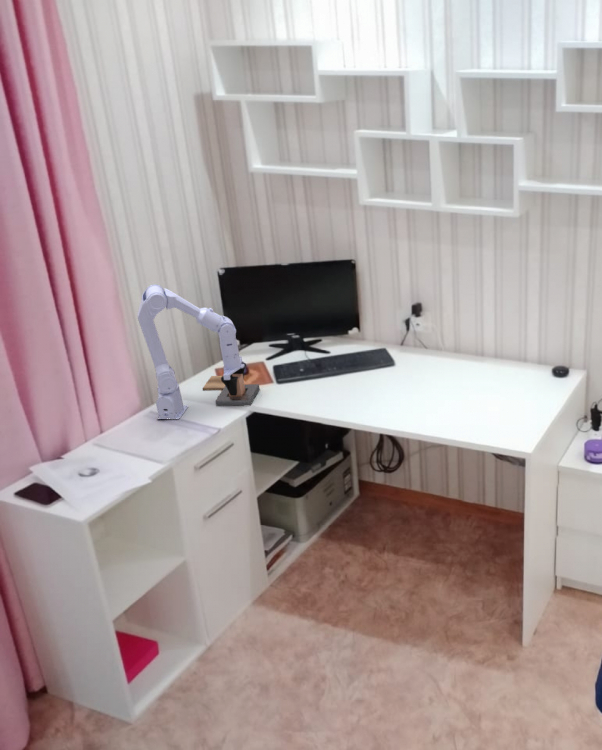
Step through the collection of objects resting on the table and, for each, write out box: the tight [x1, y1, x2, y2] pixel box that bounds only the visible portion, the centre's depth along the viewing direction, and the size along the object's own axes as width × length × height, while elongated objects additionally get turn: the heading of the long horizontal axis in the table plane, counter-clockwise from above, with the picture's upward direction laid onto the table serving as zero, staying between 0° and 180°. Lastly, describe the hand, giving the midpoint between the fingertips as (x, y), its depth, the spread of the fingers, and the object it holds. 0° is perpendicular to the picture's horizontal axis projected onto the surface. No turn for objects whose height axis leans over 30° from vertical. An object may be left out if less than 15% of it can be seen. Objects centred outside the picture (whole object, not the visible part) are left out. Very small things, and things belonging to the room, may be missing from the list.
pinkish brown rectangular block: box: [229, 374, 246, 397], centre depth 297 cm, size 4×4×8 cm
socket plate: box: [215, 383, 261, 407], centre depth 298 cm, size 12×12×2 cm
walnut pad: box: [202, 375, 225, 391], centre depth 311 cm, size 10×10×1 cm
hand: (236, 389), depth 297 cm, fingers open, 7 cm apart
